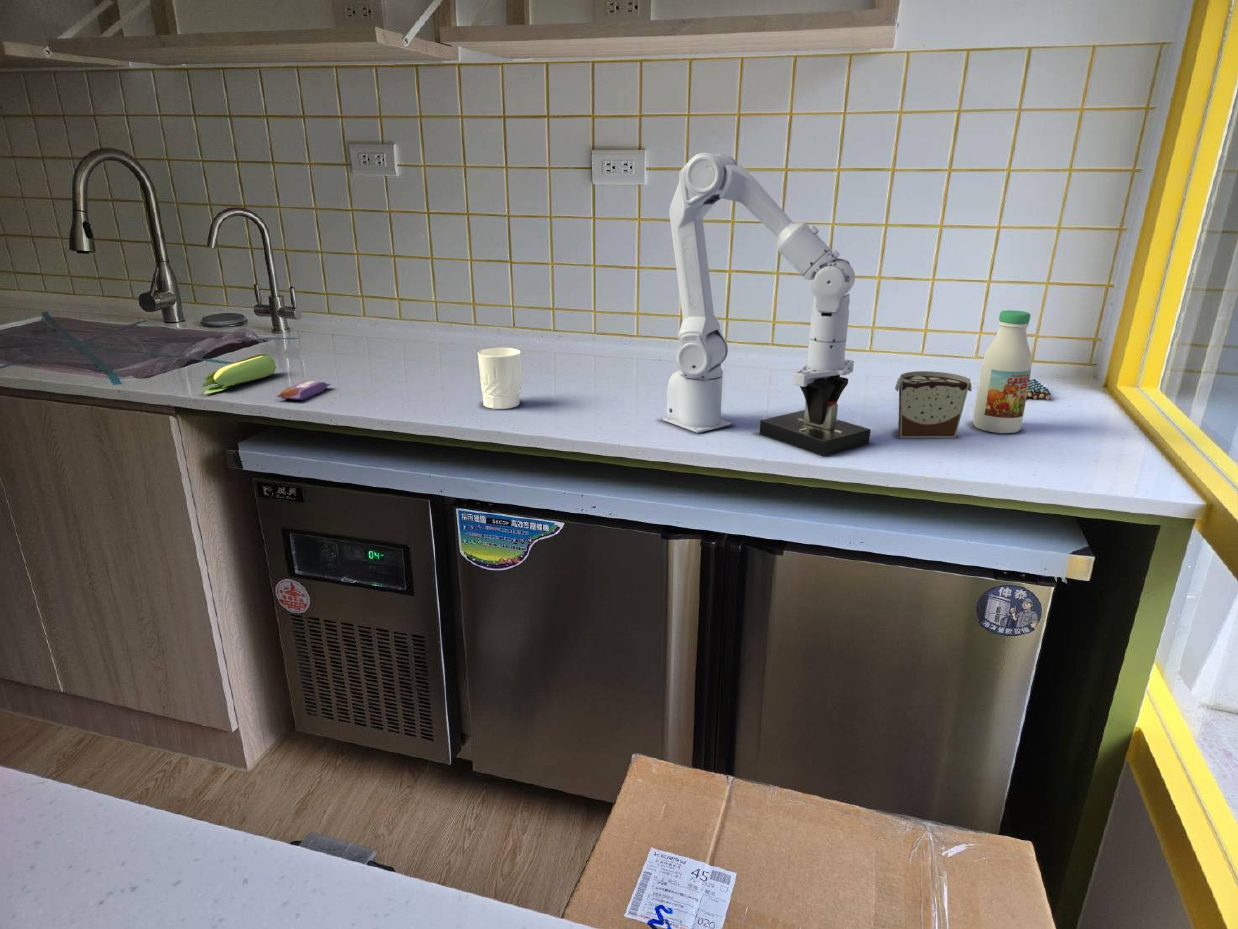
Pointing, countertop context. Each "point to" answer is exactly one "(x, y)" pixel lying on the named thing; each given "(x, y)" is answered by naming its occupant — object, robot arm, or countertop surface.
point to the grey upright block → (829, 416)
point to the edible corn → (241, 372)
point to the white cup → (500, 377)
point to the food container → (930, 404)
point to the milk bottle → (1004, 376)
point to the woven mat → (1037, 390)
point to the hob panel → (814, 434)
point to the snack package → (303, 390)
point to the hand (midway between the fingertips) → (819, 421)
